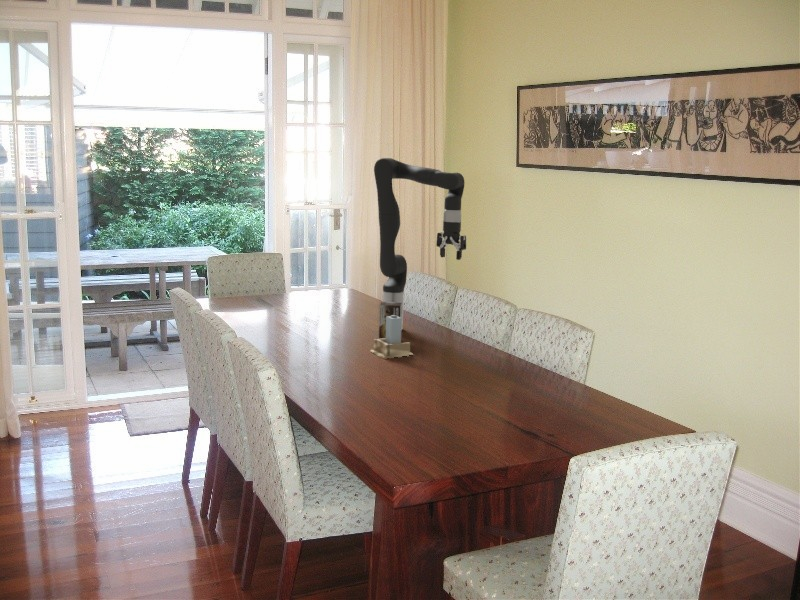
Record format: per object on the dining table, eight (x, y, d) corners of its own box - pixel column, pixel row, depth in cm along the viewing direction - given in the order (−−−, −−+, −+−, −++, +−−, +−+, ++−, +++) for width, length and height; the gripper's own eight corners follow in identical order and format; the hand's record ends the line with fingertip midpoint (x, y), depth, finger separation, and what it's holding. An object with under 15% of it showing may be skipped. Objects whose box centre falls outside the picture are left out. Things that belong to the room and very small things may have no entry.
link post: (385, 350, 351) (386, 315, 348) (395, 349, 353) (396, 314, 350) (390, 353, 347) (391, 317, 345) (400, 352, 349) (401, 316, 347)
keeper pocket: (370, 351, 352) (370, 339, 351) (398, 348, 358) (399, 336, 357) (383, 359, 342) (384, 345, 341) (413, 355, 348) (413, 342, 347)
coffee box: (401, 339, 374) (402, 302, 371) (399, 343, 368) (401, 305, 364) (380, 338, 375) (381, 301, 372) (378, 342, 368) (379, 304, 365)
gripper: (433, 219, 375) (432, 257, 378) (460, 222, 365) (458, 261, 369) (444, 218, 380) (443, 255, 383) (471, 221, 371) (469, 259, 374)
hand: (450, 258), depth 376 cm, fingers open, 8 cm apart
